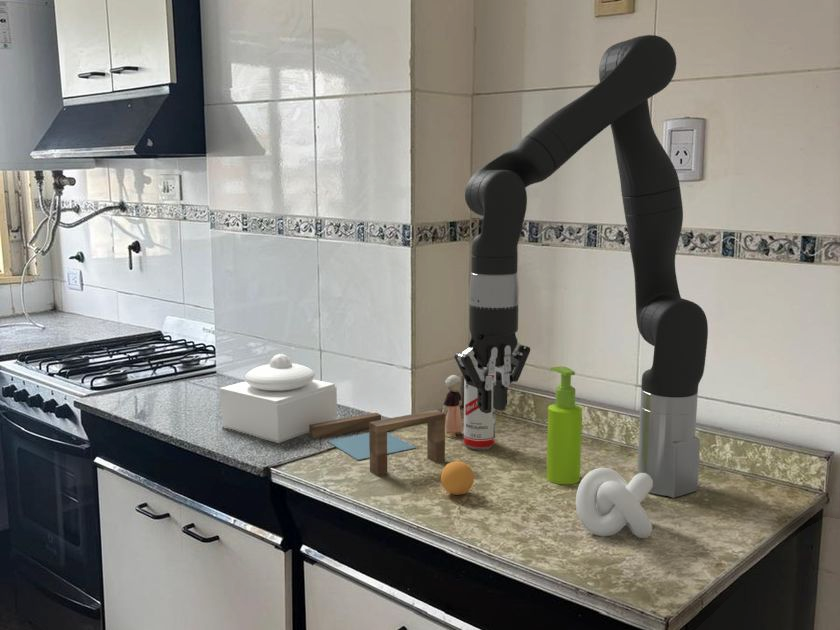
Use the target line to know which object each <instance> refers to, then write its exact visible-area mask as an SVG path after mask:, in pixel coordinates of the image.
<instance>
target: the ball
mask: <svg viewBox="0 0 840 630" xmlns="http://www.w3.org/2000/svg"><path fill="white" fill-rule="evenodd" d="M474 476H475V475H474V472H473V470H472V468H471V467H470V465H468V464H467V463H465V462H464V461H459V460H458V461H457V460H455V461H452V462H449V463H447V464H446V465H445V466H444V467H443V469H442V472H441V475H440V482H441V485H442V487H443V488H444V490H445V491H446V492H447V493H449V494H451V495H455V496H459V495H464V494H467V492H469V491H470V489H471V488H472V487H473V485H474V480H475V477H474Z"/></svg>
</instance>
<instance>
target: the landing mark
mask: <svg viewBox="0 0 840 630" xmlns="http://www.w3.org/2000/svg"><path fill="white" fill-rule="evenodd" d="M327 443H328V444H330V445H332V446H333V447H335V448H337V449H338V450H340V451H341V452H343V453H345V454H347V455H348V456H350V457H351V458H353V459H354V460H357V461H363V460H370V449H369V433H364V434H363V433H362V434H358V435H352V436H347V437H343V438H342V437H341V438H338V439H332V440H327ZM415 448H416V449H417V447H416V446H414V445H412V444H410V443H409V442H406V441H405V440H403V439H401V438H399V437H397V436H395V435H393V434H391V433H389V432H387V455H391V454H396V453H401V452H406V451H410V450H415Z"/></svg>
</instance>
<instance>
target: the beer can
mask: <svg viewBox="0 0 840 630" xmlns="http://www.w3.org/2000/svg"><path fill="white" fill-rule="evenodd" d="M473 365H474V364H473ZM475 365H476V364H475ZM475 365H474V367H475ZM484 368H486V367H484ZM486 369H487V368H486ZM463 379H464V378H463ZM463 381H464V382H463V383H464V385H463V392H464V393H463V406H464V407H463V443H464V444H465V446H466V447H467V448H468V449H472V450H478V451H482V450H488V449H491V448H492V447H491V446H494V444H495V443H496V409H495V408H494V407H493V390H494V385H496V384H495V382H494V375H493V376H492V384H491V389H490V390H492V410H491V413H484V412H481V411H480V409H479V408H478V405H477V403H478V390H477V388H476V387H473V386H470V385H468V384H467V383H466V381H465V379H464V380H463Z"/></svg>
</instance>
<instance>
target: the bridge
mask: <svg viewBox="0 0 840 630" xmlns="http://www.w3.org/2000/svg"><path fill="white" fill-rule="evenodd" d="M424 424H427V425H426V426H427V428H426V430H427V431H426V433H427V434H426V436H427V437H426V438H427V442H426V443H427V448H426V449H427V453H426V455H427V456H426V458H427V459H428V460H430V461H432V462H434V463H435V464H436V463H441V462H445V460H446V436H445V432H446V431H445V424H446V414H445V413H443V412H442V411H440V410H439V409H433V410H427V411H423V412H417V413H412V414H411V413H410V414H406V415H401V416H396V417H389V418H384V419H381V420H378V421H373V422H369V428H368V429H369V430H368V431H369V449H370V458H369V472H371V473H372V474H374V475H375V476H377V477H379V476H384V475H388V454H387V433H388V432H390V431H393V430H399V429H405V428H410V427H414V426H418V425H419V426H420V425H424Z"/></svg>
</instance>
